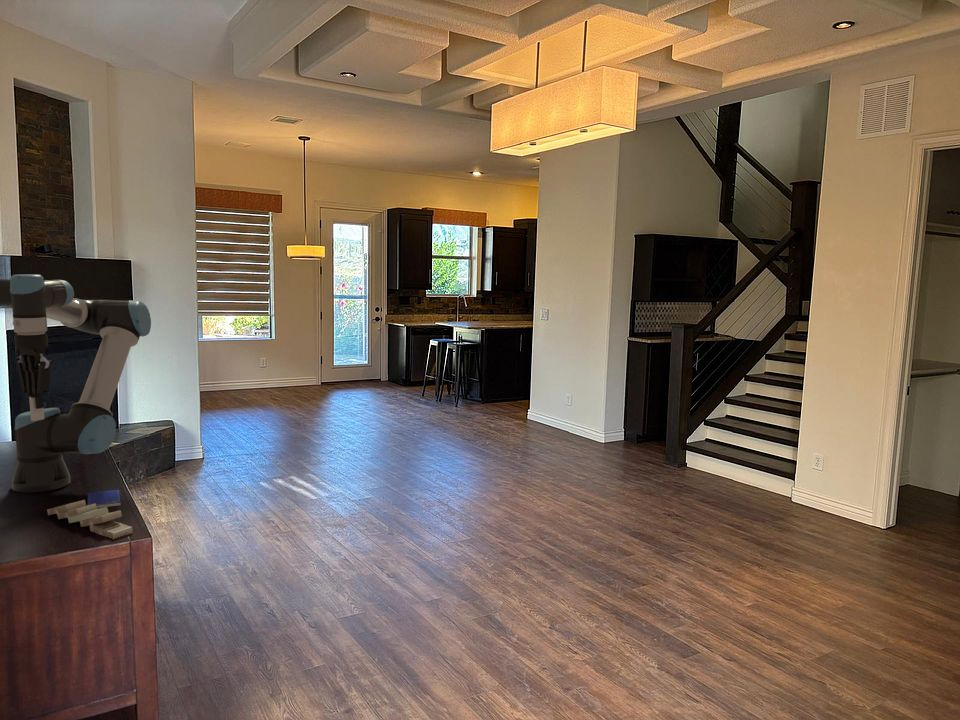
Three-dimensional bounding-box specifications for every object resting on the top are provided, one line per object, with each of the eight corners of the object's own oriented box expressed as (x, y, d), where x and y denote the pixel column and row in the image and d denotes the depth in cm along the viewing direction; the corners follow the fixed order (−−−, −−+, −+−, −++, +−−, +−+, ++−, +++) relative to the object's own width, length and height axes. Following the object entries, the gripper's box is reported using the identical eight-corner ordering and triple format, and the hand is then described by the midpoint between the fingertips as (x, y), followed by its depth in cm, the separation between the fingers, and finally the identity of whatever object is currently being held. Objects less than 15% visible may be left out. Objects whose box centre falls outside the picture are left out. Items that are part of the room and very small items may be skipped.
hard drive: (120, 501, 198) (119, 489, 209) (87, 505, 194) (87, 492, 205) (120, 507, 198) (119, 494, 209) (87, 511, 195) (87, 498, 205)
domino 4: (79, 520, 181) (102, 515, 177) (97, 515, 186) (120, 510, 181) (81, 527, 181) (104, 522, 177) (99, 521, 186) (122, 516, 181)
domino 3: (67, 517, 184) (88, 512, 179) (86, 511, 188) (107, 506, 183) (69, 523, 184) (90, 518, 179) (87, 517, 188) (108, 512, 183)
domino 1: (46, 509, 189) (65, 504, 184) (65, 504, 193) (84, 499, 188) (48, 515, 189) (67, 510, 184) (67, 510, 193) (86, 505, 188)
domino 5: (89, 525, 179) (113, 533, 174) (108, 519, 183) (132, 526, 178) (90, 531, 179) (113, 539, 174) (108, 525, 183) (132, 533, 179)
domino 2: (56, 513, 186) (76, 508, 181) (75, 508, 191) (95, 503, 186) (58, 519, 186) (78, 514, 181) (77, 514, 191) (97, 509, 185)
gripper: (1, 332, 186) (9, 419, 189) (31, 336, 180) (38, 426, 184) (30, 329, 192) (37, 413, 196) (60, 333, 186) (66, 420, 190)
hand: (37, 419), depth 190 cm, fingers closed
